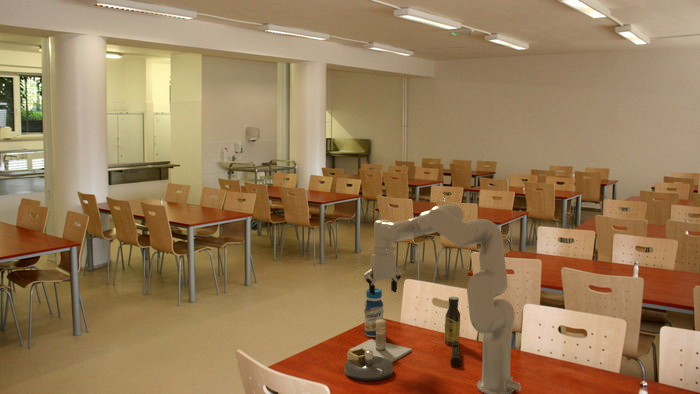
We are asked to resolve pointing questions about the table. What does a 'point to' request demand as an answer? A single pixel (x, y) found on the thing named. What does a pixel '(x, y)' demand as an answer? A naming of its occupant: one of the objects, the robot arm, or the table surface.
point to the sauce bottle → (452, 322)
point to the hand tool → (455, 355)
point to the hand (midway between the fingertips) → (383, 292)
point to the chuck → (367, 366)
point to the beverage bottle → (373, 311)
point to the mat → (390, 353)
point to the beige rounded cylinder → (380, 335)
